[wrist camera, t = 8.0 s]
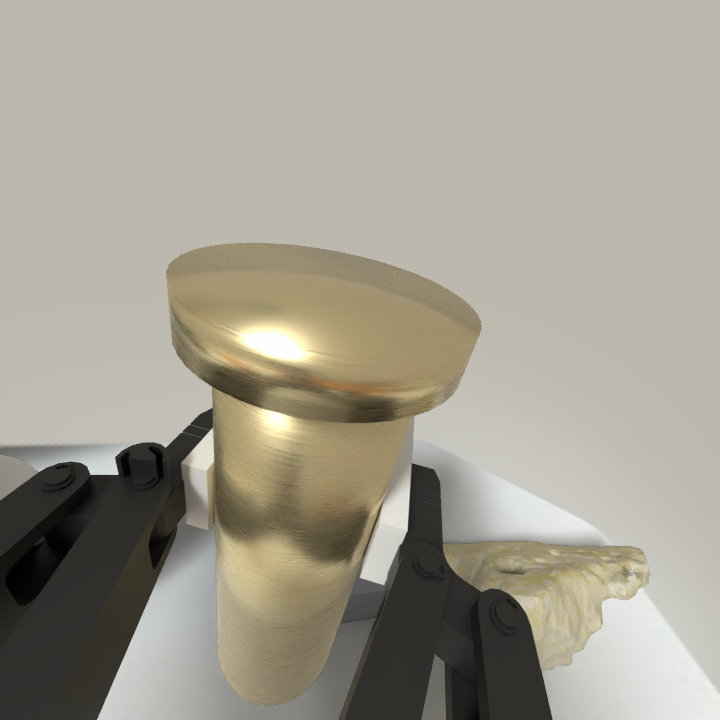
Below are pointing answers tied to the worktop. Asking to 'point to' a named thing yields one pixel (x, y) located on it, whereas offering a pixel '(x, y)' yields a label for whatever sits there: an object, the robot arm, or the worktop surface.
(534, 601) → the beige rock
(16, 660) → the robot arm
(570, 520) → the worktop surface
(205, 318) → the brass flanged peg
